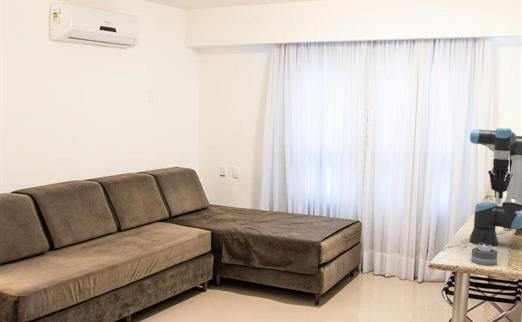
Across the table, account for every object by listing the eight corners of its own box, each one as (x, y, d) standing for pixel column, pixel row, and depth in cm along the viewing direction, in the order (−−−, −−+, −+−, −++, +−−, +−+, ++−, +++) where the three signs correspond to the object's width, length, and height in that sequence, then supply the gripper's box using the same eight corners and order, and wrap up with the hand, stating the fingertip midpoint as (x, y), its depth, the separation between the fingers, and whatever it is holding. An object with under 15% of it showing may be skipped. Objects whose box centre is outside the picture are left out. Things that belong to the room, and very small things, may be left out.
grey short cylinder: (481, 257, 301) (482, 246, 300) (501, 263, 291) (502, 251, 290) (466, 260, 294) (466, 248, 294) (486, 266, 284) (487, 254, 284)
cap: (483, 254, 296) (484, 241, 296) (493, 257, 291) (494, 244, 290) (475, 255, 293) (476, 242, 293) (485, 258, 288) (486, 245, 287)
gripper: (485, 157, 299) (482, 202, 302) (508, 160, 288) (504, 207, 291) (495, 156, 303) (491, 201, 306) (517, 159, 292) (513, 206, 295)
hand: (498, 204), depth 298 cm, fingers closed
